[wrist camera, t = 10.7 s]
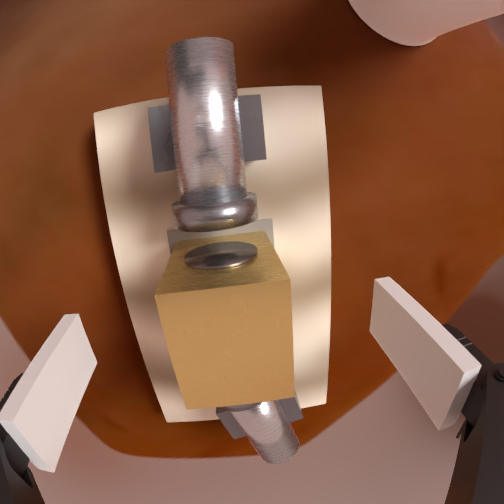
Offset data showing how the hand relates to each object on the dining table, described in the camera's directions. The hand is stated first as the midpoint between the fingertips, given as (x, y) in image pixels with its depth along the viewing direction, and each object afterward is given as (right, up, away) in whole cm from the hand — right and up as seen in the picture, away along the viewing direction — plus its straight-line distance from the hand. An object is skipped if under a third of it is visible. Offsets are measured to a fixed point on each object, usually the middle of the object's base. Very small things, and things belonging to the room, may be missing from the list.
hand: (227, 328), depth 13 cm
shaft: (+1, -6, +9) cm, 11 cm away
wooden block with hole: (0, +1, +6) cm, 6 cm away
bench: (-1, +2, +8) cm, 8 cm away
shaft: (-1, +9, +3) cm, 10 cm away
